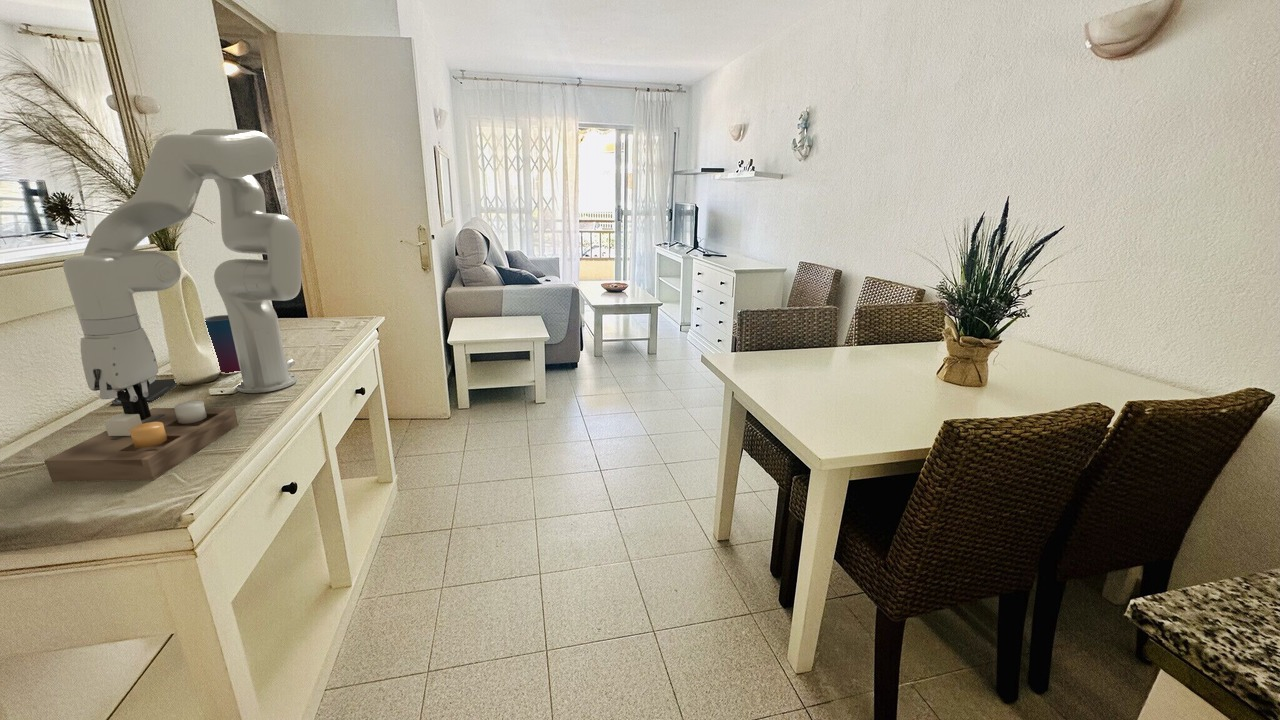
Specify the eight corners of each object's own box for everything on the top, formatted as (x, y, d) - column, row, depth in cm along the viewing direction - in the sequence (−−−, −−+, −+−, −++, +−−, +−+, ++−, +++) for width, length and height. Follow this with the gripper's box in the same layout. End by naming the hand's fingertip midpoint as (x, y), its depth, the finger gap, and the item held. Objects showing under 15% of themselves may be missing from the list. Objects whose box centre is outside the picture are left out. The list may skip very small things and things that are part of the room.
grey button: (189, 414, 104) (185, 400, 103) (212, 414, 104) (208, 400, 103) (171, 423, 99) (167, 409, 99) (196, 423, 100) (192, 409, 99)
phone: (109, 402, 116) (147, 380, 130) (110, 407, 117) (149, 384, 130) (151, 399, 118) (185, 377, 132) (152, 404, 119) (186, 381, 132)
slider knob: (122, 428, 97) (118, 414, 96) (143, 428, 97) (139, 414, 96) (108, 435, 94) (103, 420, 93) (129, 435, 94) (125, 420, 93)
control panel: (157, 425, 108) (152, 407, 106) (238, 425, 109) (234, 407, 108) (52, 481, 87) (44, 460, 86) (153, 480, 88) (147, 458, 87)
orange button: (147, 436, 94) (143, 421, 93) (173, 436, 95) (169, 421, 94) (127, 448, 90) (122, 432, 89) (154, 447, 90) (149, 432, 89)
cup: (243, 366, 144) (231, 313, 139) (250, 371, 140) (238, 317, 135) (212, 371, 139) (199, 317, 134) (219, 377, 135) (206, 322, 130)
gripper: (125, 315, 100) (150, 403, 105) (47, 336, 85) (80, 436, 91) (167, 316, 100) (189, 403, 106) (95, 336, 86) (126, 435, 92)
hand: (139, 418), depth 98 cm, fingers closed
